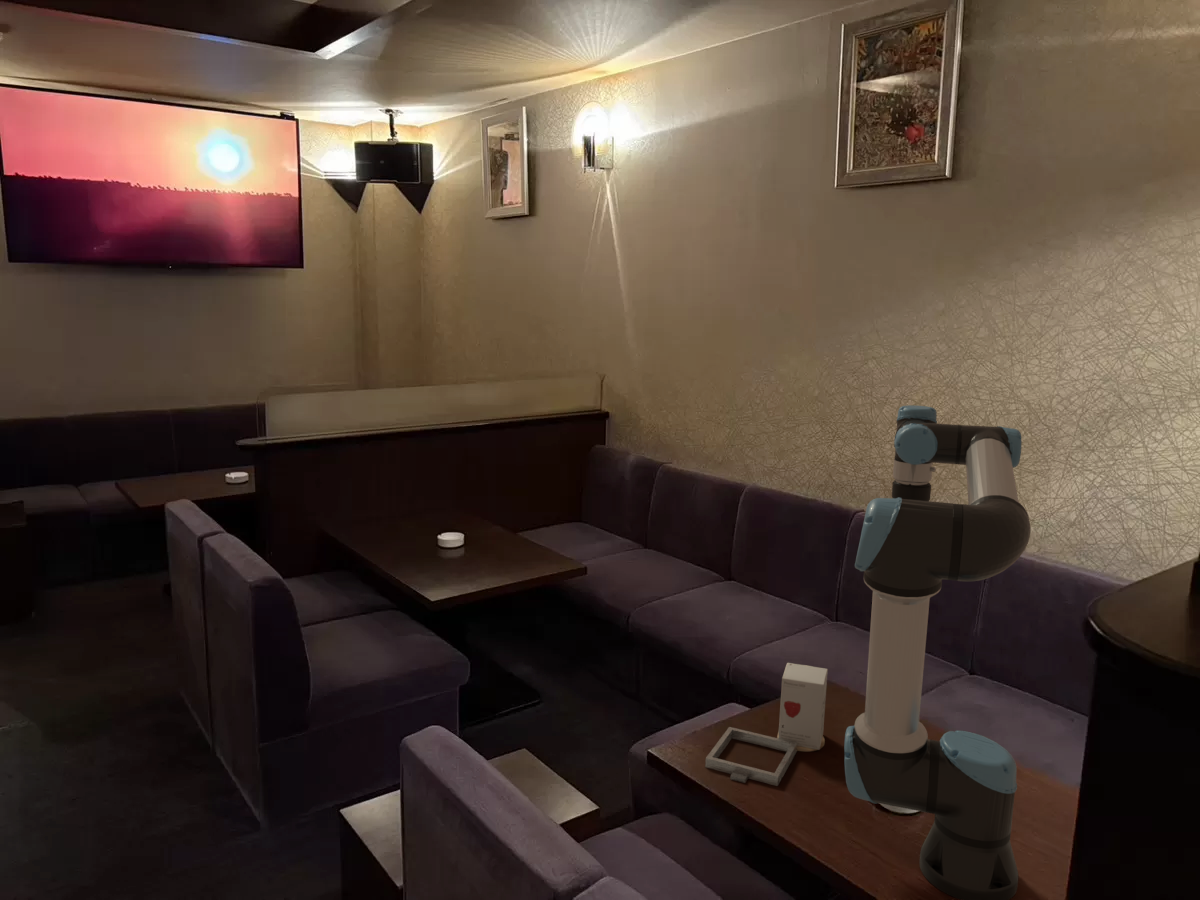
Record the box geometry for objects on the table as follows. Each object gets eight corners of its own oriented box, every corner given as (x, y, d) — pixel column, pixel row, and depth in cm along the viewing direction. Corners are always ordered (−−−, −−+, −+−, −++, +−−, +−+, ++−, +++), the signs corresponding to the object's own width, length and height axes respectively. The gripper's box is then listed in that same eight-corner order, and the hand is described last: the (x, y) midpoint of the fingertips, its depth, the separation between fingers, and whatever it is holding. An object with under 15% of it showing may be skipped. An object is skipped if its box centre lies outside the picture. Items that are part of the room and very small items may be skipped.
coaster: (818, 755, 184) (818, 753, 184) (771, 744, 188) (772, 742, 188) (829, 735, 193) (829, 732, 193) (784, 724, 197) (784, 722, 197)
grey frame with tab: (774, 791, 170) (775, 781, 170) (701, 771, 177) (702, 762, 177) (799, 747, 187) (799, 738, 187) (731, 731, 194) (732, 722, 193)
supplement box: (776, 743, 188) (780, 677, 185) (782, 724, 196) (786, 661, 193) (820, 751, 185) (824, 684, 182) (824, 731, 193) (828, 667, 190)
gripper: (924, 494, 167) (915, 601, 171) (937, 472, 189) (930, 567, 193) (883, 490, 170) (875, 595, 174) (901, 469, 192) (894, 562, 196)
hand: (904, 580), depth 183 cm, fingers open, 13 cm apart
